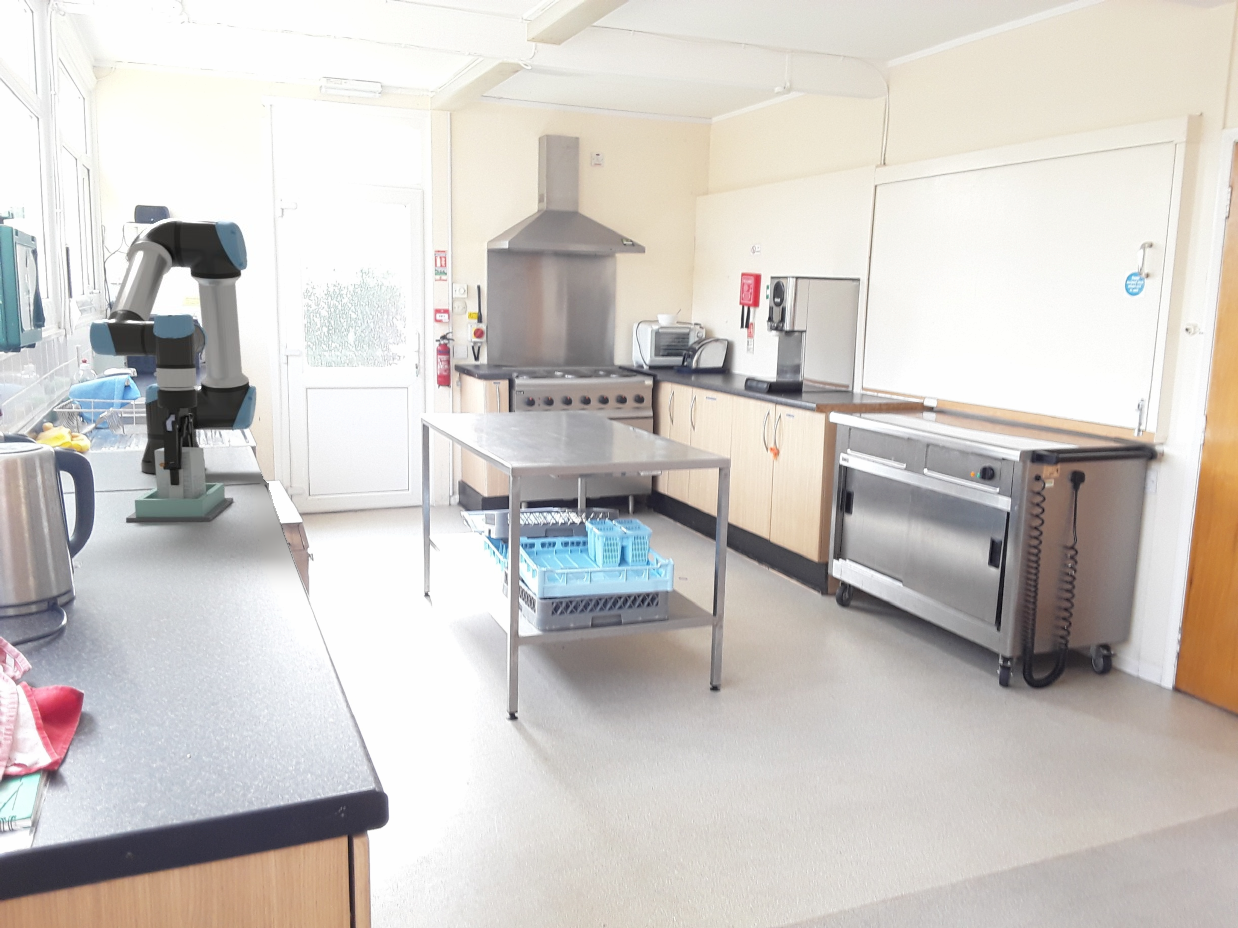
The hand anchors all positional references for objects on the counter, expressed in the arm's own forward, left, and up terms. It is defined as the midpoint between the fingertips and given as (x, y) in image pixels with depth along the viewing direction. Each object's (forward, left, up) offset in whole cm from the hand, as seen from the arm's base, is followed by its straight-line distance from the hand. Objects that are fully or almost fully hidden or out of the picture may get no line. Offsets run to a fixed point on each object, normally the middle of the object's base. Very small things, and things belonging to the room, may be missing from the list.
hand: (182, 496), depth 201 cm
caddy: (0, 0, -3) cm, 3 cm away
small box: (0, 0, 0) cm, 0 cm away
